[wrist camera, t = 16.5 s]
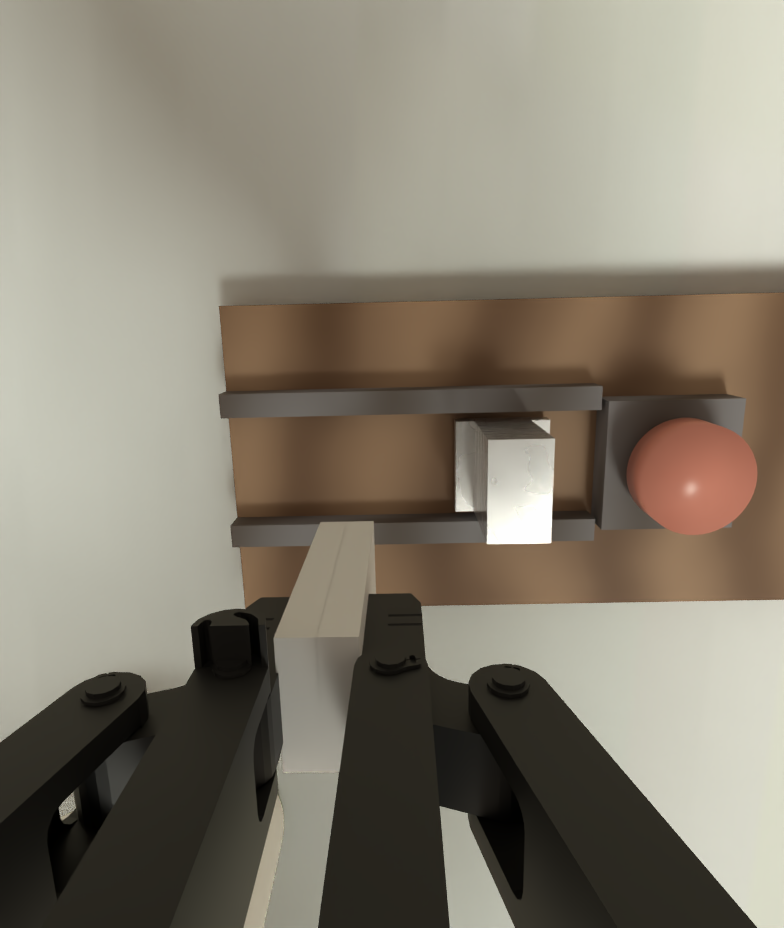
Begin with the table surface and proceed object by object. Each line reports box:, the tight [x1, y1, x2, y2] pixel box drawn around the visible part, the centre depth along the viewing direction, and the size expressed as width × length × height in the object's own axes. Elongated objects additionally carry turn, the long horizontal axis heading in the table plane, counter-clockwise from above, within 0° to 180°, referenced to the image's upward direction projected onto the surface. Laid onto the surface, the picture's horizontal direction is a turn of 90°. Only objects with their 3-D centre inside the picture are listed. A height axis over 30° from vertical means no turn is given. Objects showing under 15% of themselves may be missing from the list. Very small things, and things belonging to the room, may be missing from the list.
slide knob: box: [454, 417, 555, 544], centre depth 25 cm, size 4×4×5 cm
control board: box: [219, 293, 784, 608], centre depth 27 cm, size 36×14×4 cm, turn 91°
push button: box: [626, 418, 757, 535], centre depth 24 cm, size 4×4×2 cm
